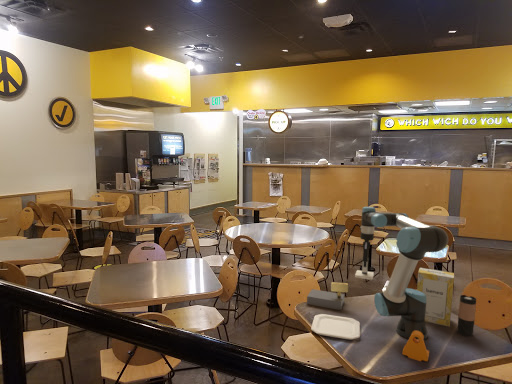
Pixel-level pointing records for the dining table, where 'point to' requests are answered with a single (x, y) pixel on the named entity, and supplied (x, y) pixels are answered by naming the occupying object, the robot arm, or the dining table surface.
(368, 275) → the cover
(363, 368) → the dining table surface
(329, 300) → the block
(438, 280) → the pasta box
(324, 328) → the plate
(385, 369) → the dining table surface
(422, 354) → the bracket
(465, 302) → the travel mug
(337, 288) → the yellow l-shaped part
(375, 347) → the dining table surface
